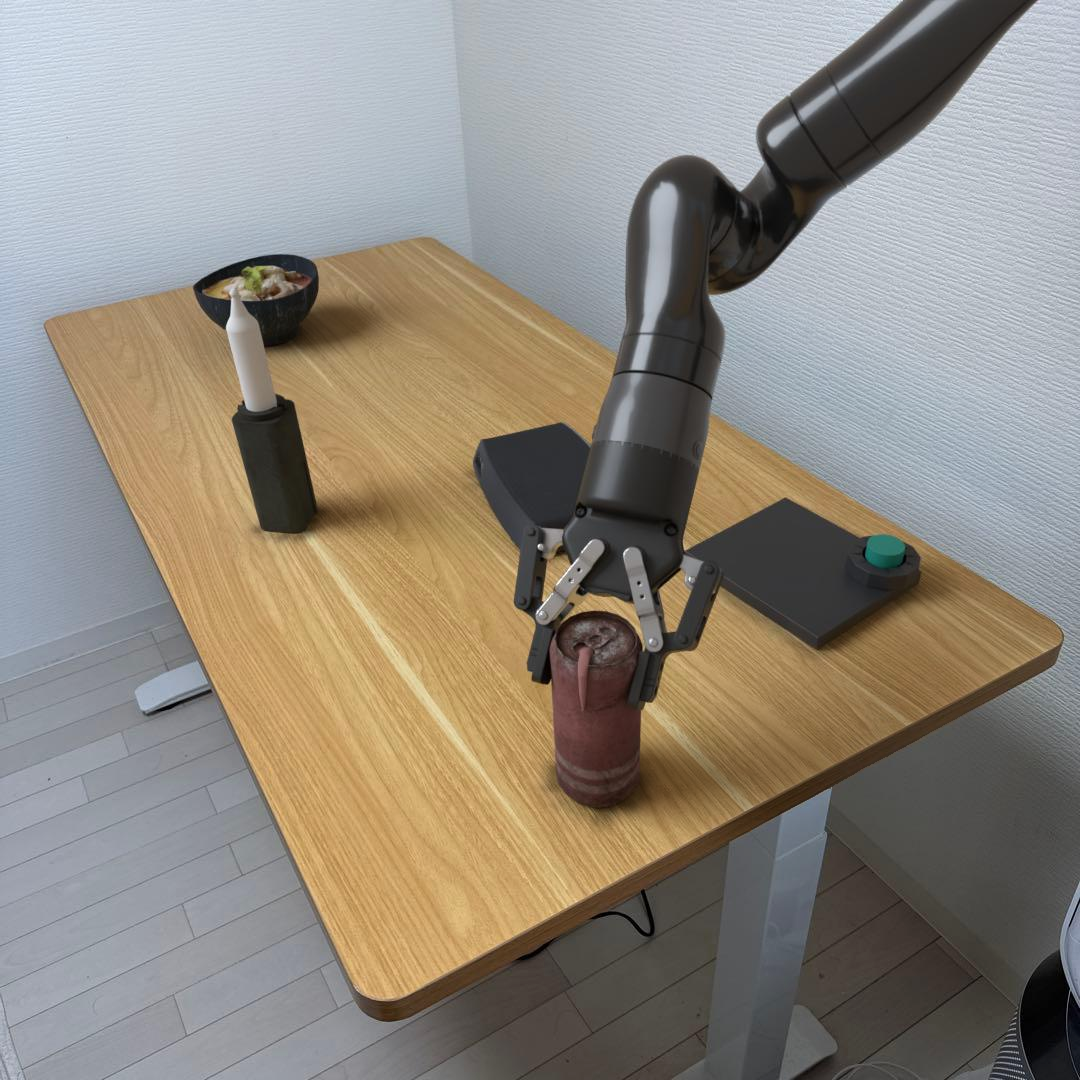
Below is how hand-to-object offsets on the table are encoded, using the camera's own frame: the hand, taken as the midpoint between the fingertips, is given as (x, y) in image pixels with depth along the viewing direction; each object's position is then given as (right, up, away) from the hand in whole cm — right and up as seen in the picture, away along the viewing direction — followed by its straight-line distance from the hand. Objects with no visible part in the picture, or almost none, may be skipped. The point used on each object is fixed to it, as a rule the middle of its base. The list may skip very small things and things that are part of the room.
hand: (586, 694), depth 64 cm
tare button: (+28, +9, +23) cm, 37 cm away
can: (+1, -8, +7) cm, 11 cm away
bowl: (-42, +40, +76) cm, 96 cm away
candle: (-29, +12, +37) cm, 49 cm away
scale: (+21, +7, +26) cm, 34 cm away
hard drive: (-2, +14, +38) cm, 41 cm away
